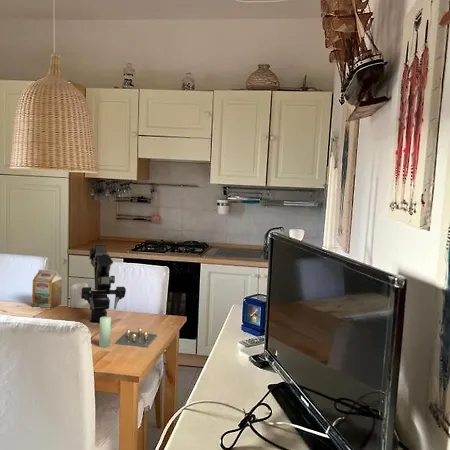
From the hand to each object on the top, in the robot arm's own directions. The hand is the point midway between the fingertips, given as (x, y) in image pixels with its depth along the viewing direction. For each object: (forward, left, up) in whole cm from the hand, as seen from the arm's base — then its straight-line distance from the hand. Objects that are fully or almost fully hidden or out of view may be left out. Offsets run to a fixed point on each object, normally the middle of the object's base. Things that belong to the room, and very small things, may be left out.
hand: (104, 309), depth 205 cm
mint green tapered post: (+3, -7, -13) cm, 15 cm away
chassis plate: (+14, +4, -13) cm, 20 cm away
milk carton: (-47, +38, -14) cm, 62 cm away
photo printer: (-32, +44, -14) cm, 56 cm away
